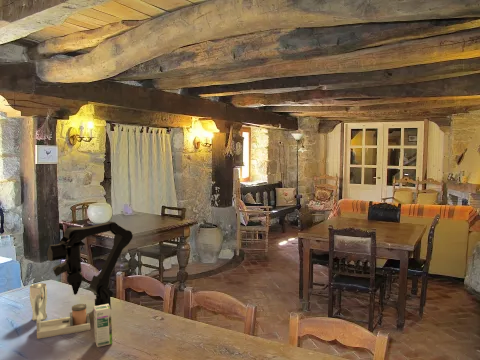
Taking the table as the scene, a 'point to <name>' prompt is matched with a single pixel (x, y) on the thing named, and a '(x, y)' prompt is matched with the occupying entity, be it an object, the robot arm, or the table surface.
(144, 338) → the table surface
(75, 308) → the terracotta jar
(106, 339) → the syrup box
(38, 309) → the beer glass
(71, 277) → the robot arm
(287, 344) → the table surface
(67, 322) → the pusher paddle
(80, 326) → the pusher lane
